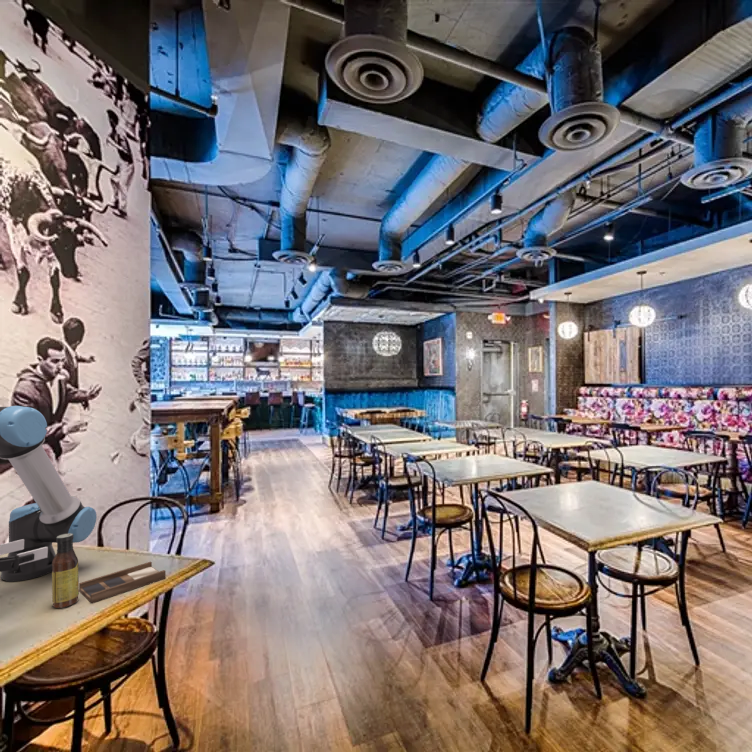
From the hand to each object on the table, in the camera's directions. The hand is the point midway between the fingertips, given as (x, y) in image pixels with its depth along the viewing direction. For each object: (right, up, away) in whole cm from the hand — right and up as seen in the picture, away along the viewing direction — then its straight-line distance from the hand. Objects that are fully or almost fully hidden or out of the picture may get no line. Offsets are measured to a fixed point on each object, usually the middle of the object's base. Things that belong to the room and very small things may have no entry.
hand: (35, 547), depth 115 cm
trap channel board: (+14, -19, +18) cm, 30 cm away
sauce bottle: (+4, -19, +6) cm, 20 cm away
